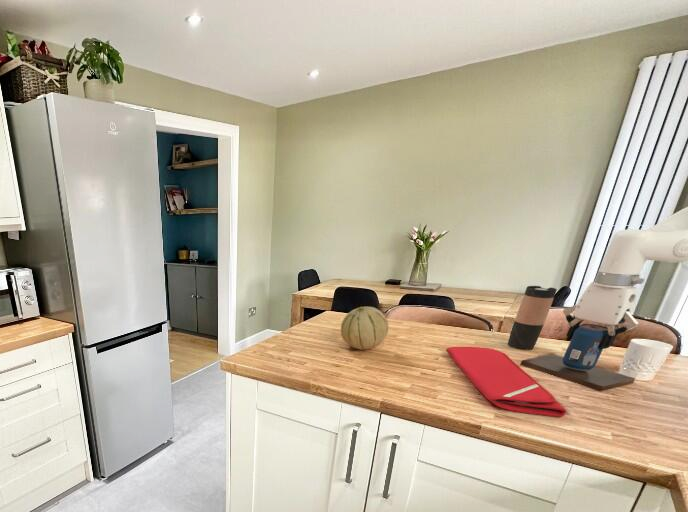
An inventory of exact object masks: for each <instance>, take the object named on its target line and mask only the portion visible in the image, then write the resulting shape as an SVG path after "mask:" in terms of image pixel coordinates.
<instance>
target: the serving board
mask: <svg viewBox="0 0 688 512" xmlns="http://www.w3.org/2000/svg"><path fill="white" fill-rule="evenodd" d="M563 357H564V356H559V355H556V354H553V353H552V354H546V355H542V356H536V357H532V358H527V359H522V360H521V361H520V366H522V367H525V368H527V369H532V370H534V371H537V372H540V373H543V374H546V373H547V374H546V375H549V374H550V376H552V375H553V376H552V377H555V376H556V378H559V379H562V380H565V381H568V382H571V383H573V382H574V384H576V383H577V385H579V384H580V385H579V386H583V387H586V388H589V389H592V390H595V391H598V392H604V391H608V390H612V389H617V388H620V387H624V386H628V385H631V384H634V382H635V381H636V380H635V378H632V377H629V376H625V375H622V374H619V373H618V372H615V371H611V370H608V369H605V368H601V367H598V366H595V367H593V368H592V369H590V370H588V371H582V370H575V369H571V368H568V367H566V366H564V364H563Z"/></svg>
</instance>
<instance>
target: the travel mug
mask: <svg viewBox="0 0 688 512" xmlns="http://www.w3.org/2000/svg"><path fill="white" fill-rule="evenodd" d="M557 291H558V290H557V288H555V287H548V288H544V287H542V286H540V285H528V286H526V288H525V291H524V292H523V293H524V294H523V296H522V299H521V302H520V305H519V307H518V310H517V312H516V316H515V318H514V322H513V325H512V327H511V331H510V333H509V337H508V341H507V346H509V347H510V348H513V349H516V350H523V351H531V350H534V348H535V346H536V344H537V341H538V340H539V337H540V334H541V332H542V330H543V328H544V325H545V323H546V320H547V317H548V315H549V313H550V309H551V307H552V304H553V302H554V298H555V296H556V293H557Z"/></svg>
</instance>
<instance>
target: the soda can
mask: <svg viewBox="0 0 688 512" xmlns="http://www.w3.org/2000/svg"><path fill="white" fill-rule="evenodd" d="M579 326H580V327H579V328H577V329H576V330H575V331H574V334H573V336H572V339H571V340H569V344H568V346H567V348H566V350H565V352H564V356H562V357H563V364H564V366H566V367H568V368H571V369H575V370H582V371H588V370H590V369H592V368H593V367H596V365H597V363H598V361H599V359H600V356H601V354H602V352H603V350H604V349H600V348H599V347H600V344H601V342H602V340H603V338H604V336H605V335H607V334H608V329H607V326H604V325H599V324H598V325H597V324H591V323H590V324H589V323H581V324H580V325H579Z"/></svg>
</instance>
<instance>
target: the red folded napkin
mask: <svg viewBox="0 0 688 512" xmlns="http://www.w3.org/2000/svg"><path fill="white" fill-rule="evenodd" d="M445 351H446V353H447V354H448V355H449V356H450V358H451V359H452V361H454V363H455V364H456V365H457V367H458V368H459V369H460V370H461V371H462V372H463V374H464V375H465V376H466V377H467V379H468V380H469V381H470V382H471V384H472V385H473V386H474V387H475V389H477V390H478V391H479V392H480V393H481V394H482V395H483V396H484V397H485V398H486V399H487V400H488V401H489V402H491V403H492V404H493V405H494V406H497V407H498V408H500V409H503V410H506V411H512V412H516V413H517V412H518V413H525V414H532V415H539V416H545V415H546V417H552V416H554V418H562V417H564V416H565V415H566V413H567V410H566V408H565V407H564V406H563V405H561V404H560V403H559V402H558V401H557V400H556V398H555V397H554V395H553V394H552V393H550V392H549V391H548V390H547V389H545V388H544V387H543V386H542V385H541V384H540V383H539V382H538V381H536V380H535V379H534V378H533V377H532V376H531V375H529V373H527V372H526V371H524V369H522V367H520V366H519V365H518V364H517V363H516V362H515V361H513V359H511V358H510V357H509V355H507V354H506V353H504V352H503V351H500V350H497V349H495V348H489V347H480V346H450V347H447V348H445Z"/></svg>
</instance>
